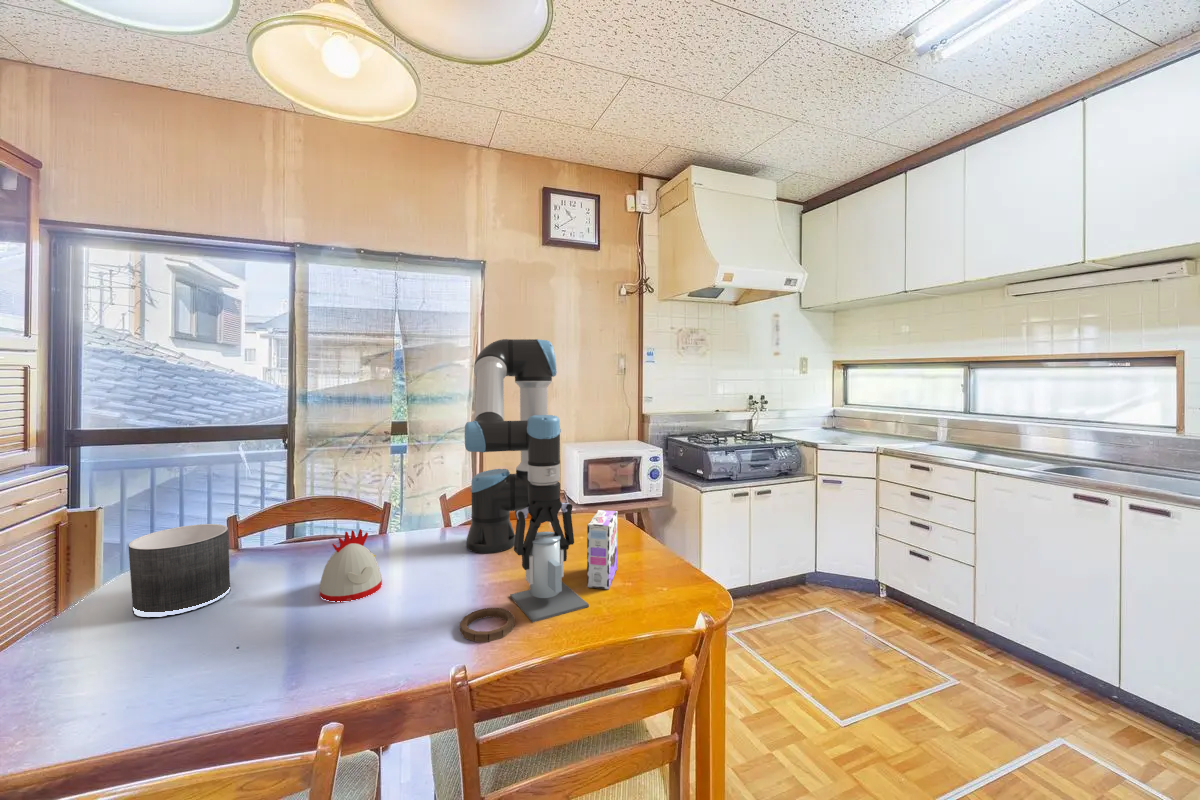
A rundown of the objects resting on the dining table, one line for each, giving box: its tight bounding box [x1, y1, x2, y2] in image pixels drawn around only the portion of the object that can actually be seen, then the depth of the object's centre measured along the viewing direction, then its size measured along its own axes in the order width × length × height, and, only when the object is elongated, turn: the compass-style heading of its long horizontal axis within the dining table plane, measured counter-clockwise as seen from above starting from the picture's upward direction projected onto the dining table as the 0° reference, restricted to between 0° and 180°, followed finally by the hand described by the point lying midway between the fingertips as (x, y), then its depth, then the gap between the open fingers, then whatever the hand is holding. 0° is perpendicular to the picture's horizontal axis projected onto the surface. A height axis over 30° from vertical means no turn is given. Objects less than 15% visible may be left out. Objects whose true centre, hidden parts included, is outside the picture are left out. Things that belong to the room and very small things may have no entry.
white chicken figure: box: [319, 528, 383, 603], centre depth 121 cm, size 14×14×15 cm
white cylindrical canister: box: [529, 531, 563, 598], centre depth 112 cm, size 11×7×13 cm, turn 30°
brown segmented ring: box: [459, 607, 516, 643], centre depth 103 cm, size 11×11×2 cm
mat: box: [509, 581, 590, 623], centre depth 115 cm, size 14×14×1 cm
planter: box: [128, 523, 231, 612], centre depth 115 cm, size 18×18×16 cm
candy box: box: [586, 509, 619, 590], centre depth 127 cm, size 14×6×16 cm, turn 168°
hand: (544, 578), depth 113 cm, fingers closed on white cylindrical canister, 7 cm apart
